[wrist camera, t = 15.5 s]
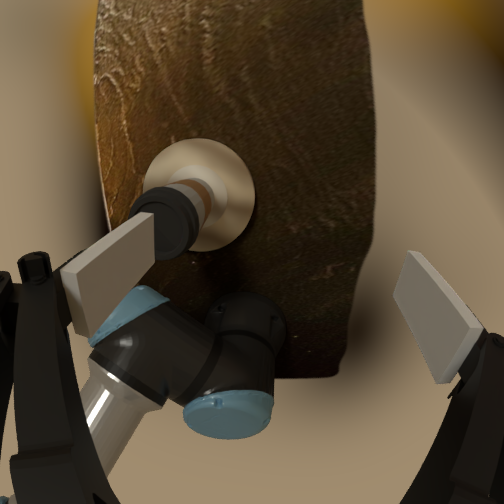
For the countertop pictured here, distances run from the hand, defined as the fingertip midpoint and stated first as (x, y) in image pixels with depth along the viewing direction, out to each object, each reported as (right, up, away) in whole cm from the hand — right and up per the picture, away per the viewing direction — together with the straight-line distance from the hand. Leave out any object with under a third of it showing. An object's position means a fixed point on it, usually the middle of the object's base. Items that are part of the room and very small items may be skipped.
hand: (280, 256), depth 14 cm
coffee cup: (-10, +9, +30) cm, 32 cm away
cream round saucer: (-10, +9, +31) cm, 34 cm away
